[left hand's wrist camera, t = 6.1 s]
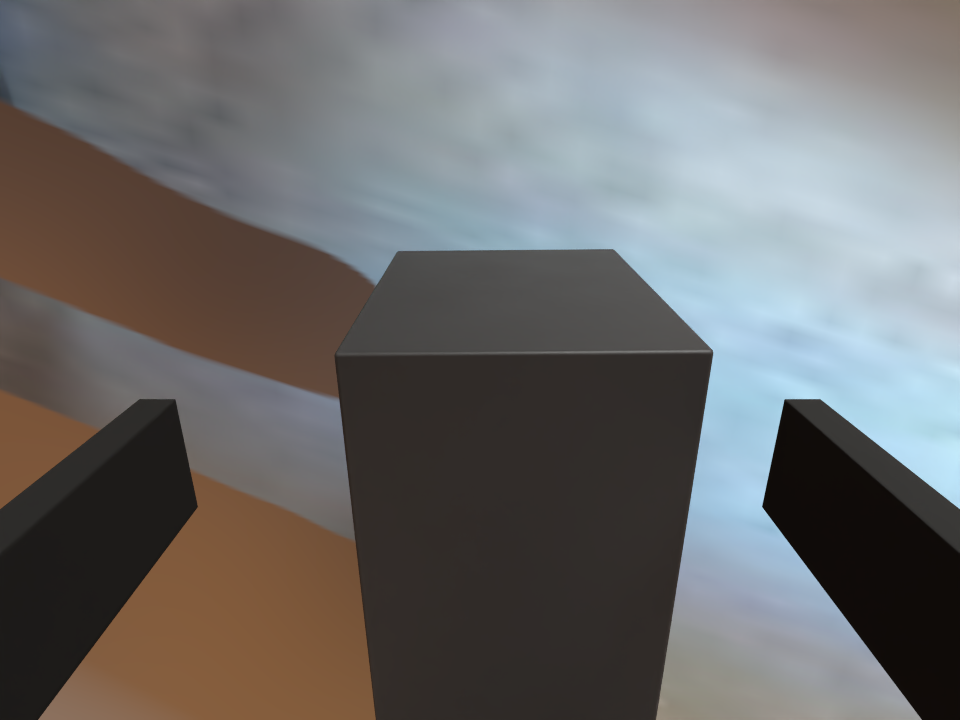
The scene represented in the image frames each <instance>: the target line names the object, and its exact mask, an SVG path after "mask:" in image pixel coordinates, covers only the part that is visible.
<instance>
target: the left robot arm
mask: <svg viewBox="0 0 960 720" xmlns="http://www.w3.org/2000/svg"><path fill="white" fill-rule="evenodd" d="M197 507H198V506H197V501H196V496H195V491H194V486H193V482H192V477H191V472H190V467H189V463H188V458H187V453H186V448H185V443H184V439H183V434H182V429H181V424H180V420H179V415H178V410H177V405H176V400H175V399H140V400H138V401H137V402H136V403H135V404H133V405H132V406H131V407H129V408H128V409H127V410H126V411H124V412H123V413H122V414H121V415H119V416H118V417H117V418H115V419H114V420H113V421H112V422H110V423H109V424H108V425H107V426H105V427H104V428H103V429H102V430H100V431H99V432H98V433H96V434H95V435H94V436H93V437H91V438H90V439H89V440H88V441H86V442H85V443H84V444H83V445H81V446H80V447H79V448H77V449H76V450H75V451H74V452H72V453H71V454H70V455H69V456H67V457H66V458H65V459H64V460H62V461H61V462H60V463H58V464H57V465H56V466H55V467H53V468H52V469H51V470H50V471H48V472H47V473H46V474H45V475H43V476H42V477H41V478H39V479H38V480H37V481H36V482H34V483H33V484H32V485H31V486H29V487H28V488H27V489H26V490H24V491H23V492H22V493H20V494H19V495H18V496H17V497H15V498H14V499H13V500H11V501H10V502H9V503H8V504H6V505H5V506H4V507H3V508H1V509H0V720H38V719H39V718H40V716H41V715H42V714H43V712H44V711H45V710H46V708H47V707H48V706H49V704H50V703H51V702H52V700H53V699H54V698H55V696H56V695H57V694H58V692H59V691H60V690H61V688H62V687H63V686H64V684H65V683H66V682H67V680H68V679H69V678H70V676H71V675H72V674H73V672H74V671H75V670H76V668H77V667H78V666H79V664H80V663H81V662H82V660H83V659H84V658H85V656H86V655H87V654H88V652H89V651H90V650H91V648H92V647H93V646H94V644H95V643H96V642H97V640H98V639H99V638H100V636H101V635H102V634H103V632H104V631H105V630H106V628H107V627H108V626H109V624H110V623H111V622H112V620H113V619H114V618H115V616H116V615H117V614H118V612H119V611H120V610H121V608H122V607H123V606H124V604H125V603H126V602H127V600H128V599H129V598H130V596H131V595H132V594H133V592H134V591H135V590H136V588H137V587H138V586H139V585H140V583H141V582H142V580H143V579H144V578H145V576H146V575H147V574H148V573H149V571H150V570H151V568H152V567H153V566H154V564H155V563H156V562H157V561H158V559H159V558H160V557H161V555H162V554H163V552H164V551H165V550H166V548H167V547H168V546H169V545H170V543H171V542H172V541H173V539H174V538H175V537H176V535H177V534H178V533H179V531H180V530H181V529H182V527H183V526H184V525H185V523H186V522H187V521H188V519H189V518H190V517H191V515H192V514H193V513H194V511H195V510H196V509H197ZM762 507H763V509H764V510H765V511H766V513H767V514H768V515H769V517H770V518H771V519H772V521H773V522H774V523H775V525H776V526H777V527H778V529H779V530H780V531H781V533H782V534H783V535H784V537H785V538H786V539H787V541H788V542H789V543H790V545H791V546H792V547H793V549H794V550H795V551H796V553H797V554H798V555H799V557H800V558H801V559H802V561H803V562H804V563H805V565H806V566H807V567H808V569H809V570H810V571H811V573H812V574H813V575H814V577H815V578H816V579H817V581H818V582H819V583H820V585H821V586H822V587H823V588H824V590H825V591H826V592H827V594H828V595H829V596H830V598H831V599H832V600H833V602H834V603H835V604H836V606H837V607H838V608H839V610H840V611H841V612H842V614H843V615H844V616H845V618H846V619H847V620H848V622H849V623H850V624H851V626H852V627H853V628H854V630H855V631H856V632H857V634H858V635H859V636H860V638H861V639H862V640H863V642H864V643H865V644H866V646H867V647H868V648H869V650H870V651H871V652H872V654H873V655H874V656H875V658H876V659H877V660H878V662H879V663H880V664H881V666H882V667H883V668H884V670H885V671H886V672H887V674H888V675H889V676H890V678H891V679H892V680H893V682H894V683H895V684H896V686H897V687H898V688H899V690H900V691H901V692H902V694H903V695H904V696H905V698H906V699H907V700H908V702H909V703H910V704H911V706H912V707H913V708H914V710H915V711H916V712H917V714H918V715H919V716H920V718H921V719H922V720H960V509H959V508H957V507H956V506H955V505H954V504H952V503H951V502H950V501H949V500H947V499H946V498H945V497H943V496H942V495H941V494H940V493H938V492H937V491H936V490H935V489H933V488H932V487H931V486H929V485H928V484H927V483H926V482H924V481H923V480H922V479H921V478H919V477H918V476H917V475H916V474H914V473H913V472H912V471H910V470H909V469H908V468H907V467H905V466H904V465H903V464H902V463H900V462H899V461H898V460H897V459H895V458H894V457H893V456H891V455H890V454H889V453H888V452H886V451H885V450H884V449H883V448H881V447H880V446H879V445H877V444H876V443H875V442H874V441H872V440H871V439H870V438H869V437H867V436H866V435H865V434H864V433H862V432H861V431H860V430H858V429H857V428H856V427H855V426H853V425H852V424H851V423H850V422H848V421H847V420H846V419H845V418H843V417H842V416H841V415H839V414H838V413H837V412H836V411H834V410H833V409H832V408H831V407H829V406H828V405H827V404H825V403H824V402H823V401H822V400H820V399H785V400H784V405H783V410H782V415H781V420H780V424H779V429H778V434H777V439H776V443H775V448H774V453H773V458H772V463H771V467H770V472H769V477H768V482H767V486H766V491H765V496H764V501H763V506H762Z"/></svg>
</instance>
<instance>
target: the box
mask: <svg viewBox="0 0 960 720" xmlns="http://www.w3.org/2000/svg"><path fill="white" fill-rule="evenodd" d="M712 358H713V350H712V349H711V348H710V347H709V346H708V345H707V344H706V343H705V342H704V341H703V340H702V339H701V338H700V337H699V336H698V335H697V334H696V333H695V332H694V331H693V330H692V329H691V328H690V327H689V326H688V325H687V324H686V323H685V322H684V321H683V320H682V319H681V318H680V317H679V316H678V315H677V314H676V313H675V312H674V311H673V309H672V308H671V307H670V306H669V305H668V304H667V303H666V302H665V301H664V300H663V299H662V298H661V297H660V296H659V295H658V294H657V293H656V292H655V291H654V290H653V289H652V288H651V287H650V286H649V285H648V284H647V283H646V282H645V281H644V280H643V279H642V278H641V277H640V276H639V275H638V274H637V273H636V272H635V271H634V270H633V269H632V268H631V267H630V266H629V265H628V264H627V263H626V262H625V261H624V260H623V259H622V258H621V257H620V255H619V254H618V253H617V252H616V251H615V250H613V249H596V250H480V251H398V252H397V253H396V255H395V256H394V258H393V260H392V261H391V263H390V265H389V266H388V268H387V269H386V271H385V273H384V274H383V276H382V278H381V279H380V281H379V283H378V284H377V286H376V288H375V289H374V291H373V293H372V294H371V296H370V297H369V299H368V301H367V302H366V304H365V306H364V307H363V309H362V311H361V312H360V314H359V315H358V317H357V319H356V321H355V322H354V324H353V325H352V327H351V329H350V330H349V332H348V334H347V335H346V337H345V338H344V340H343V342H342V343H341V345H340V347H339V348H338V350H337V351H336V353H335V364H336V373H337V382H338V390H339V399H340V408H341V417H342V426H343V434H344V443H345V452H346V461H347V470H348V478H349V487H350V496H351V505H352V514H353V522H354V531H355V540H356V549H357V557H358V566H359V575H360V584H361V593H362V601H363V610H364V619H365V628H366V636H367V645H368V654H369V663H370V672H371V681H372V689H373V698H374V707H375V716H376V720H656V716H657V709H658V703H659V696H660V690H661V684H662V677H663V671H664V665H665V658H666V652H667V645H668V639H669V633H670V626H671V620H672V613H673V607H674V601H675V594H676V588H677V581H678V575H679V569H680V562H681V556H682V550H683V543H684V537H685V530H686V524H687V518H688V511H689V505H690V498H691V492H692V486H693V479H694V473H695V466H696V460H697V454H698V447H699V441H700V435H701V428H702V422H703V415H704V409H705V403H706V396H707V390H708V383H709V377H710V371H711V364H712Z"/></svg>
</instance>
